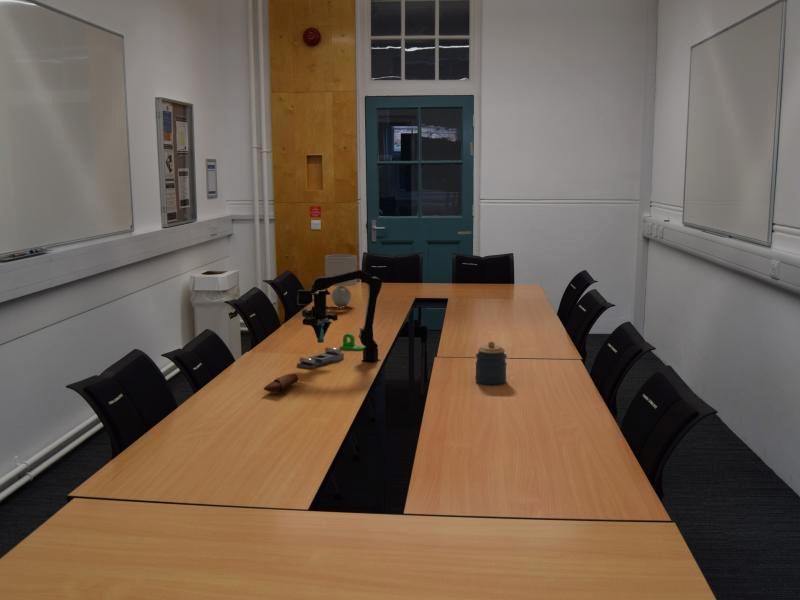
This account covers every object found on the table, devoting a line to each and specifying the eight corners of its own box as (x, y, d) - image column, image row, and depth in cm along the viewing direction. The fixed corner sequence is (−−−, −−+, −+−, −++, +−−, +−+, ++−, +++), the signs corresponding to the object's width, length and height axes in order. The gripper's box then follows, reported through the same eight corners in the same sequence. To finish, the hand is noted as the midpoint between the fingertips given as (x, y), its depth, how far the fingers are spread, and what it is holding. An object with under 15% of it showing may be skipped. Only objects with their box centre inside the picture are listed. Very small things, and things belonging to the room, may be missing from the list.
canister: (474, 386, 334) (475, 344, 331) (475, 378, 346) (476, 338, 344) (506, 387, 332) (507, 345, 329) (506, 379, 345) (507, 338, 342)
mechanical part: (339, 350, 402) (339, 334, 401) (344, 348, 408) (344, 332, 407) (361, 352, 398) (360, 336, 396) (366, 350, 403) (366, 334, 402)
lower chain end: (332, 362, 376) (332, 354, 375) (310, 369, 363) (310, 360, 362) (319, 360, 380) (319, 352, 380) (296, 366, 367) (296, 358, 367)
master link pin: (326, 341, 374) (326, 322, 372) (321, 343, 370) (320, 323, 369) (320, 340, 376) (319, 321, 375) (314, 342, 373) (314, 323, 371)
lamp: (362, 311, 518) (362, 256, 513) (334, 314, 507) (334, 258, 502) (347, 307, 535) (347, 253, 529) (320, 309, 524) (319, 255, 519)
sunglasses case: (279, 378, 340) (288, 366, 338) (292, 389, 340) (300, 377, 338) (262, 389, 323) (271, 377, 321) (275, 400, 322) (284, 388, 321)
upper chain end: (343, 359, 382) (343, 348, 382) (321, 365, 369) (321, 354, 369) (330, 357, 387) (330, 346, 386) (308, 363, 374) (308, 352, 373)
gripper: (319, 300, 383) (320, 332, 385) (293, 305, 367) (293, 339, 370) (338, 302, 376) (338, 335, 379) (311, 307, 361) (312, 341, 364)
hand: (320, 337), depth 373 cm, fingers closed on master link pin, 3 cm apart
